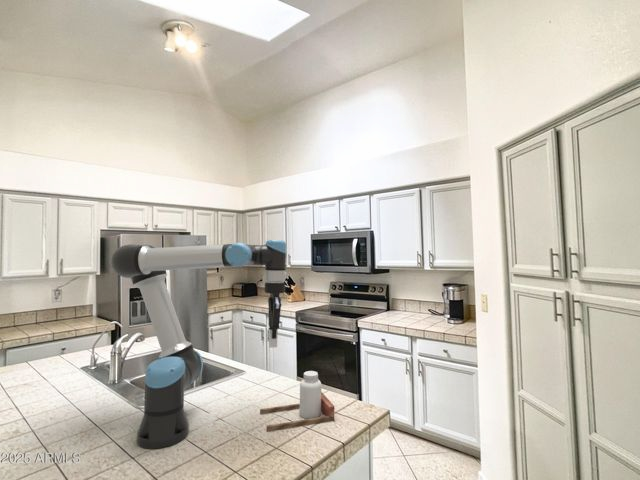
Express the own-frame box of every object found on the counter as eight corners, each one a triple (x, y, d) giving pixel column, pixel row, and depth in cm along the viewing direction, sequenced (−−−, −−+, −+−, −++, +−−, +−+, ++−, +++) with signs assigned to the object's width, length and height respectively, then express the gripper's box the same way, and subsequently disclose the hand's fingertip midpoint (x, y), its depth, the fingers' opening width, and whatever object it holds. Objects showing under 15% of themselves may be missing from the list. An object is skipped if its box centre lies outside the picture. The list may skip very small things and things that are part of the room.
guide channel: (267, 431, 112) (267, 416, 112) (260, 413, 125) (260, 399, 125) (334, 420, 120) (334, 406, 120) (321, 404, 133) (321, 391, 133)
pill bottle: (312, 421, 119) (313, 378, 120) (295, 415, 124) (295, 373, 124) (325, 413, 125) (325, 372, 126) (308, 407, 130) (308, 368, 131)
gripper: (289, 283, 119) (287, 351, 118) (281, 280, 132) (279, 342, 131) (267, 283, 117) (265, 352, 116) (262, 280, 129) (260, 343, 128)
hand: (273, 346), depth 123 cm, fingers closed
